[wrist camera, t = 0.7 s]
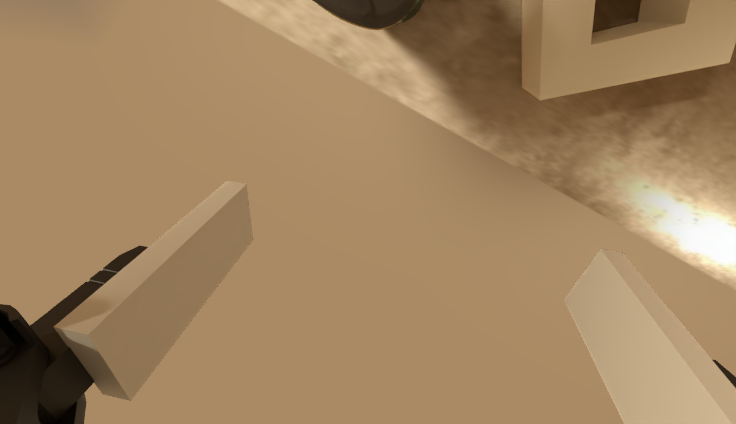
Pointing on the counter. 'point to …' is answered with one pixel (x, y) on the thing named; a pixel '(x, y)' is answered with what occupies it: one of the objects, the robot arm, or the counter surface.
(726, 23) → the socket block
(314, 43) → the counter surface
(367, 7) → the coffee jar
